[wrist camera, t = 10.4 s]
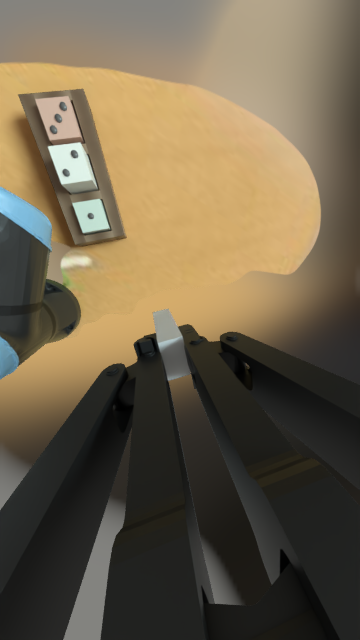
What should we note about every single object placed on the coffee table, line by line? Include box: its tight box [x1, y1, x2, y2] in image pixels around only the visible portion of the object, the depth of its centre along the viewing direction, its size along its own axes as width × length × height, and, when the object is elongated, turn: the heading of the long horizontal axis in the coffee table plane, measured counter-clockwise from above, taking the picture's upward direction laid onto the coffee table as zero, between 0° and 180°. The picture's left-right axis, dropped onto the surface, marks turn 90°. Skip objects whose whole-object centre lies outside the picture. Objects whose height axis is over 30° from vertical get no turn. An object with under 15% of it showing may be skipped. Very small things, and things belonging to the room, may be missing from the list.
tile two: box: [48, 143, 99, 195], centre depth 30 cm, size 5×5×5 cm
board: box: [18, 89, 126, 246], centre depth 33 cm, size 10×22×4 cm, turn 11°
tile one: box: [72, 199, 112, 235], centre depth 35 cm, size 5×5×5 cm
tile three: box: [35, 96, 86, 146], centre depth 30 cm, size 5×5×5 cm
